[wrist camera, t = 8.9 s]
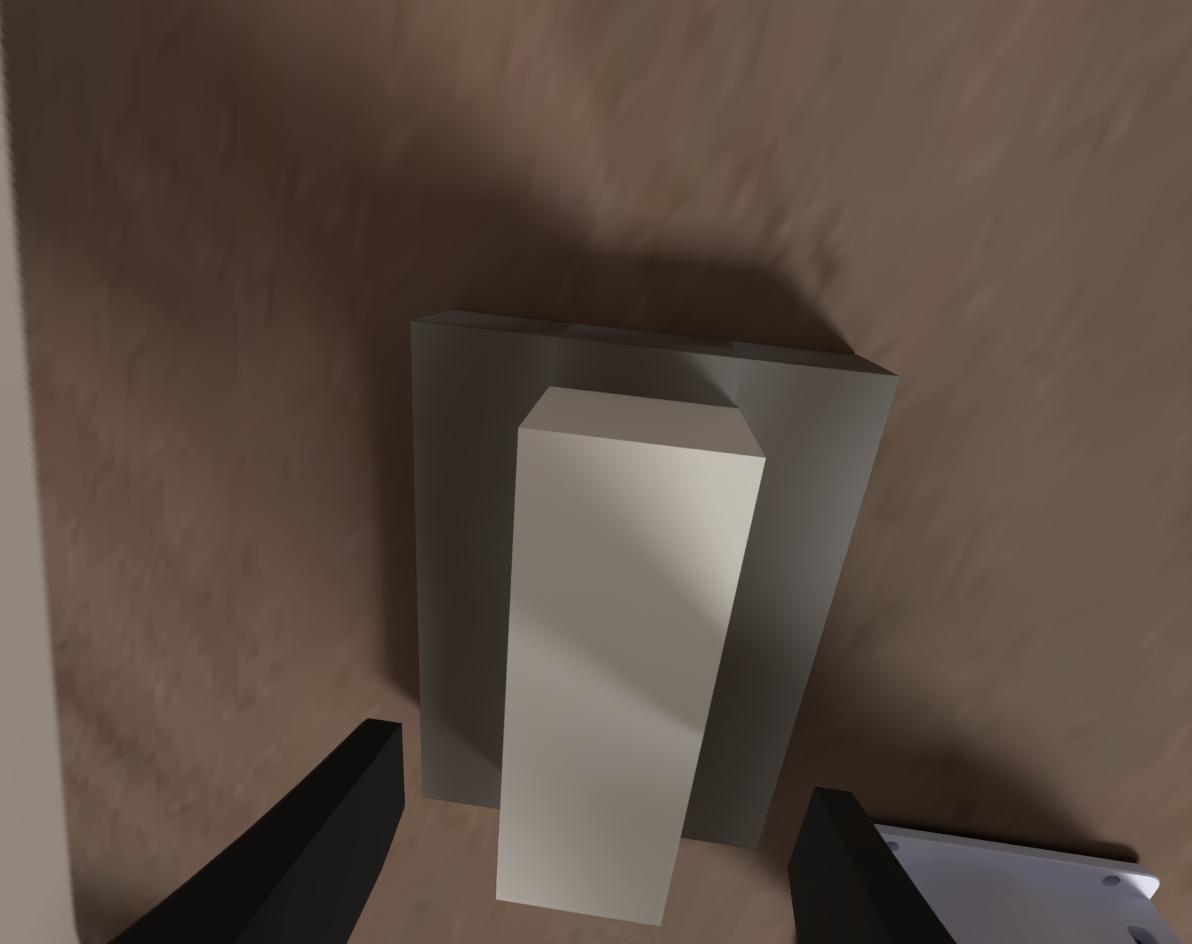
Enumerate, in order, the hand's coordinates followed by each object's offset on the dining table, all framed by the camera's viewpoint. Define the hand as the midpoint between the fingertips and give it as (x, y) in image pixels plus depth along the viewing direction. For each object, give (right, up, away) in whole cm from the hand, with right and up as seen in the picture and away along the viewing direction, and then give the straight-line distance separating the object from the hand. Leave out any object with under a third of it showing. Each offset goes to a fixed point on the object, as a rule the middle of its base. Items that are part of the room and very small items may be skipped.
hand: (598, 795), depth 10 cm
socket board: (+1, +3, +7) cm, 7 cm away
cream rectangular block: (+1, +3, +7) cm, 7 cm away
